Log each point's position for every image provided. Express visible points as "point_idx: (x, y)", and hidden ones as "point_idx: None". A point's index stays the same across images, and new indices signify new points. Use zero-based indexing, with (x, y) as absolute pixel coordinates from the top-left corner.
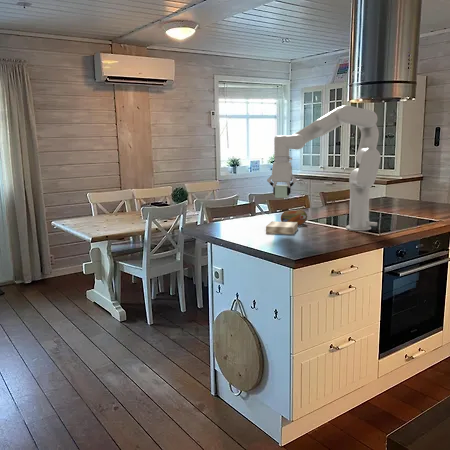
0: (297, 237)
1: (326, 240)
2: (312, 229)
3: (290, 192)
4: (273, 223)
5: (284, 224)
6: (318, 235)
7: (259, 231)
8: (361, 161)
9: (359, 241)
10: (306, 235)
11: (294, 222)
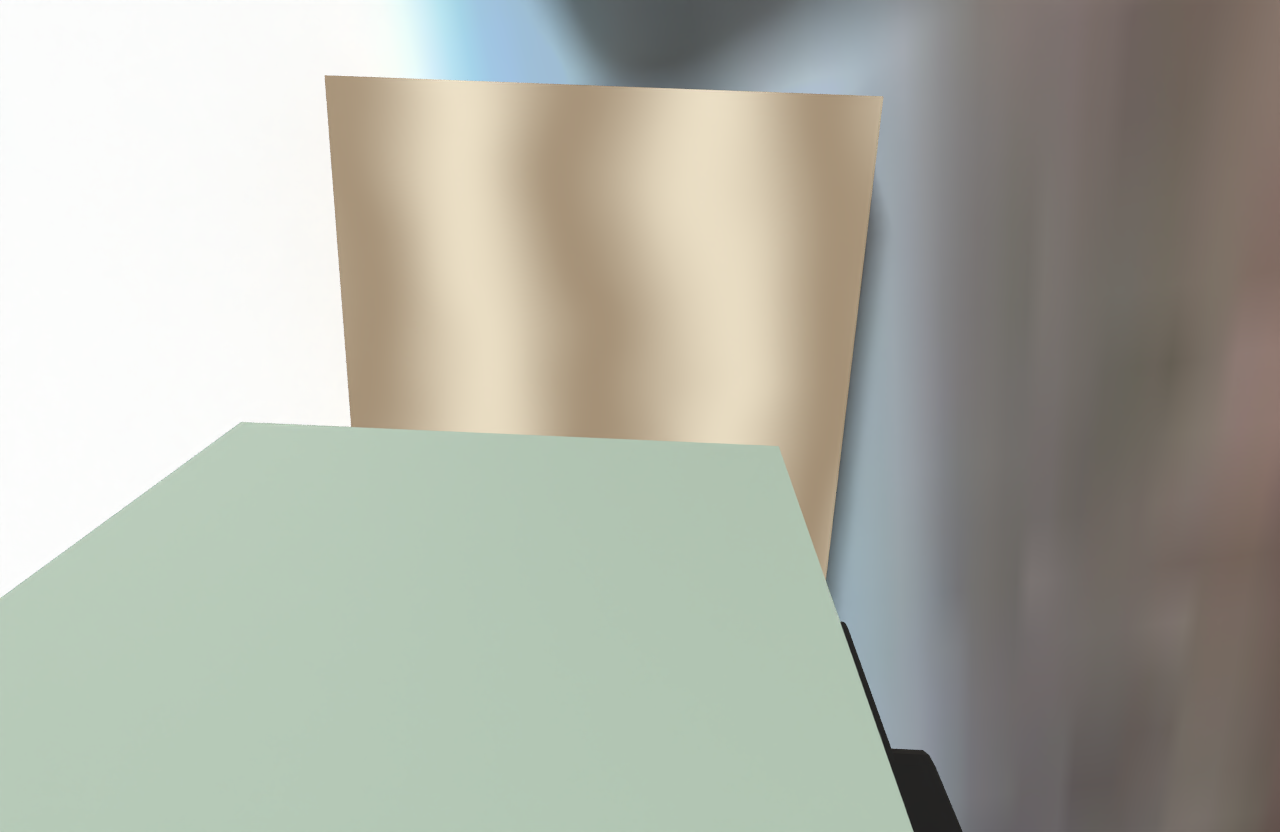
0: (879, 711)
1: (1248, 814)
2: (1128, 116)
3: (930, 777)
4: (419, 296)
5: (644, 366)
6: (1180, 564)
7: (258, 412)
8: None
9: None
10: (1004, 585)
11: (818, 129)
